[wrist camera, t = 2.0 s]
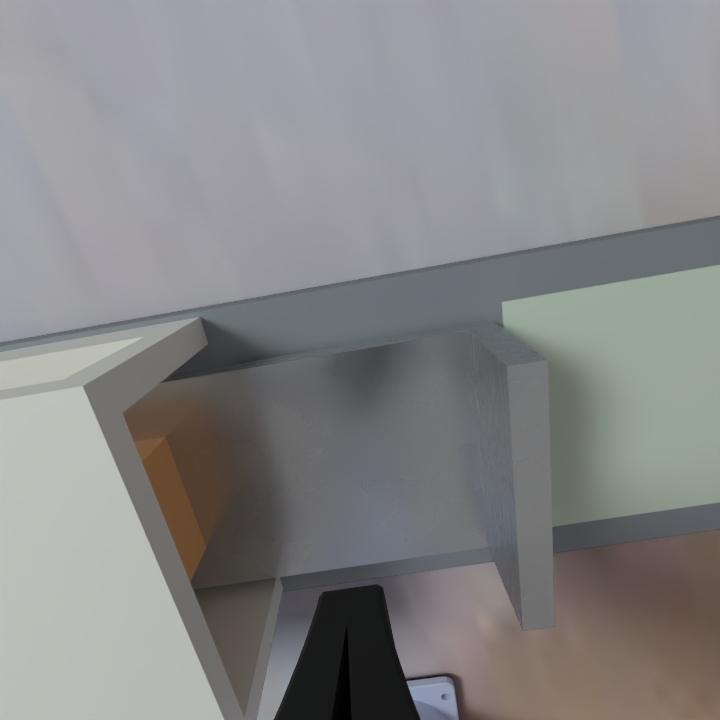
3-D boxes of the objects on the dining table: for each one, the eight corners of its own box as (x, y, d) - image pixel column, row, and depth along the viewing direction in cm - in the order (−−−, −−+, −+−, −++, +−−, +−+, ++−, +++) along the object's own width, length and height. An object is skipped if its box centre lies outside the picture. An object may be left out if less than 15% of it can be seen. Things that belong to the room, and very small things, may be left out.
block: (206, 547, 16) (159, 648, 12) (61, 568, 16) (-29, 674, 12) (165, 436, 14) (97, 512, 11) (6, 462, 15) (-117, 545, 11)
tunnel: (283, 588, 18) (246, 771, 12) (71, 618, 19) (-68, 809, 12) (200, 317, 14) (82, 386, 8) (-67, 363, 15) (-369, 462, 8)
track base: (765, 504, 18) (790, 521, 17) (-30, 619, 20) (-51, 640, 19) (820, 197, 14) (857, 195, 13) (-188, 376, 16) (-226, 386, 15)
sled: (506, 529, 17) (554, 626, 13) (71, 592, 18) (-15, 703, 14) (491, 320, 14) (548, 360, 10) (-26, 407, 15) (-172, 478, 11)
